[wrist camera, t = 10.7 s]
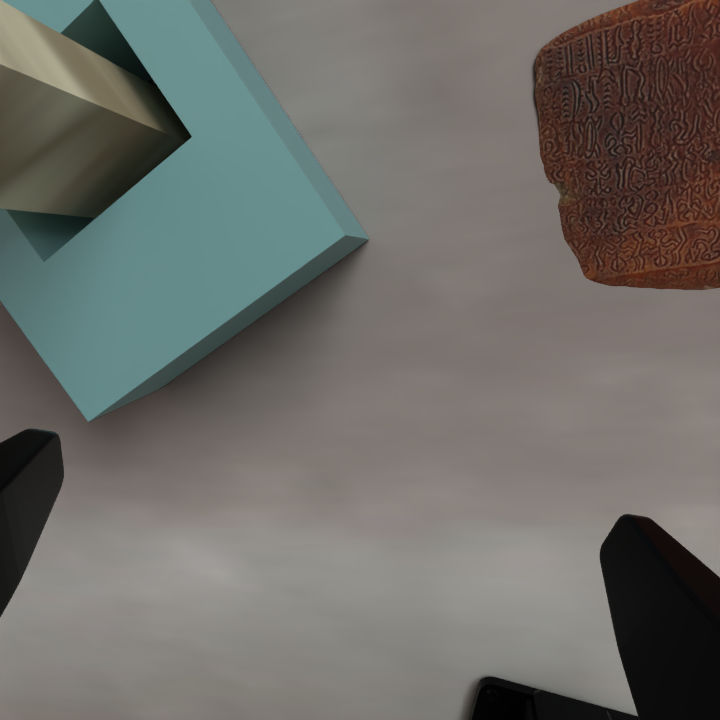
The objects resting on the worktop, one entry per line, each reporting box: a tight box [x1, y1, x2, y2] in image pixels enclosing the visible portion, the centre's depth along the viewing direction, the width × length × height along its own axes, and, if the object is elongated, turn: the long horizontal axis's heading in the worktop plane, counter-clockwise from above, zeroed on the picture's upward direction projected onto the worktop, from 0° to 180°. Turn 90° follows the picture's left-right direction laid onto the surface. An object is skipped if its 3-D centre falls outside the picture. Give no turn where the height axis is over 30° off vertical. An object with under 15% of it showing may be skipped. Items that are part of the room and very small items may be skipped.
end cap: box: [0, 0, 369, 422], centre depth 18 cm, size 10×14×4 cm
